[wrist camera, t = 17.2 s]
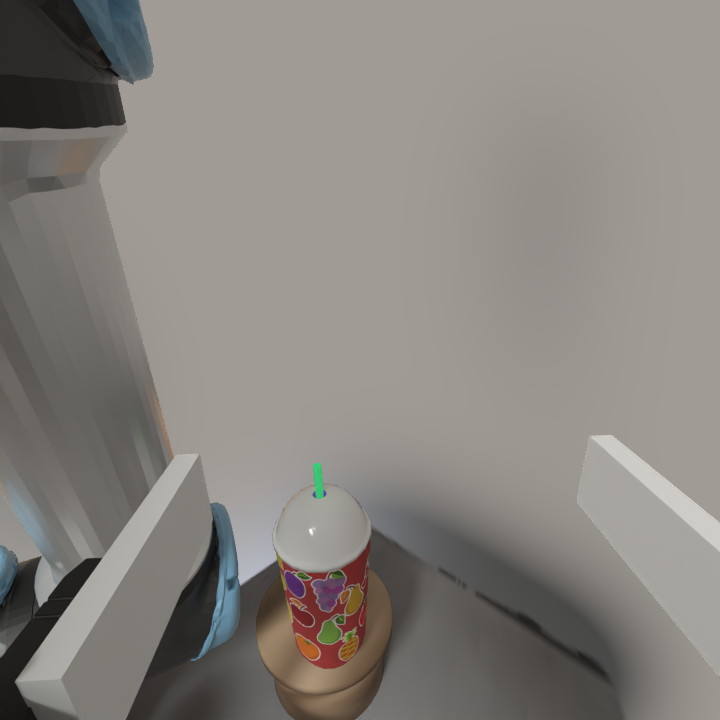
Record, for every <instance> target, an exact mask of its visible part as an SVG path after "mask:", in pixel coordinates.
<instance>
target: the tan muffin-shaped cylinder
mask: <svg viewBox="0 0 720 720" xmlns="http://www.w3.org/2000/svg"><path fill="white" fill-rule="evenodd" d="M391 631H392V605H391V601H390V597H389V594H388V591H387V589H386V587H385V585H384V584H383V582H382V581H381V579H380V578H379V577H378V576H377V575H376V574H375V573H374V572H373V571H372V570H371V569H370V568H369V571H368V591H367V610H366V629H365V636H364V639H363V643H362V645H361V646H360V648H359V649H358V651H357V652H356V654H355V655H354V656H353V657H352V659H350V660H349V661H348V662H347V663H345V664H344V665H342V666H340V667H337V668H334V669H323V668H320V667H317V666H315V665H314V664H312V663H310V662H309V661H308V660H307V659H306V658H304V657H303V656H302V655H301V653H300V651H299V649H298V648H297V646H296V641H295V636H294V632H293V627H292V623H291V618H290V614H289V609H288V605H287V600H286V596H285V591H284V587H283V582H282V578H281V576H280V577H279V578H278V579H277V580H276V581H275V582H274V583H273V585H272V586H271V587H270V588H269V590H268V591H267V593H266V595H265V597H264V598H263V600H262V603H261V605H260V608H259V611H258V615H257V622H256V637H257V643H258V648H259V653H260V656H261V659H262V661H263V663H264V665H265V667H266V669H267V670H268V671H269V673H270V674H271V675H272V676H273V677H274V681H275V686H276V691H277V694H278V697H279V700H280V702H281V704H282V706H283V707H284V708H285V710H286V711H287V713H288V714H289V715H290V716H291V717H292V718H294V719H295V720H354V719H356V718H357V717H358V716H360V715H361V714H362V713H363V712H364V711H365V710H366V709H367V707H368V706H369V705H370V704H371V702H372V701H373V699H374V697H375V695H376V693H377V691H378V689H379V686H380V683H381V679H382V673H383V656H384V653H385V651H386V649H387V647H388V644H389V641H390V637H391Z"/></svg>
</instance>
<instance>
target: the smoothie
mask: <svg viewBox="0 0 720 720" xmlns="http://www.w3.org/2000/svg"><path fill="white" fill-rule="evenodd" d="M313 468H314V480H315V485H311V486H309V487H306V488H304V489H302V490H301V491H299V492H298V493H297V494H295V495H294V496H293V497H292V498H291V499H290V501H289V502H288V503H287V505H286V506H285V507H284V509H283V511H282V513H281V516H280V517H279V518H278V520H277V521H276V523H275V526H274V529H273V533H272V539H273V546H274V549H275V551H276V555H277V560H278V564H279V569H280V573H281V578H282V582H283V587H284V591H285V596H286V600H287V605H288V609H289V614H290V618H291V623H292V627H293V632H294V636H295V641H296V646H297V648H298V649H299V651H300V653H301V655H302V656H303V657H304V658H306V659H307V660H308V661H309V662H310V663H312V664H314V665H315V666H317V667H320V668H323V669H334V668H337V667H340V666H342V665H344V664H345V663H347V662H348V661H349V660H350V659H352V657H353V656H354V655H355V654H356V652H357V651H358V649H359V648H360V646H361V645H362V643H363V639H364V636H365V629H366V610H367V591H368V571H369V552H370V537H371V521H370V518H369V516H368V514H367V512H366V511H365V510H364V509H363V508H362V507H361V505H360V504H359V502H358V501H357V500H356V499H355V498H354V497H353V496H352V495H351V494H350V493H349V492H348V491H346V490H345V489H343V488H341V487H339V486H336V485H332V484H323V482H322V469H321V464H320V463H316V464H314V465H313Z"/></svg>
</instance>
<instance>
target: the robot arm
mask: <svg viewBox="0 0 720 720" xmlns="http://www.w3.org/2000/svg"><path fill="white" fill-rule="evenodd" d="M153 67H154V66H153V58H152V52H151V47H150V43H149V40H148V34H147V29H146V26H145V23H144V19H143V15H142V11H141V7H140V3H139V0H0V493H1V494H2V496H3V497H4V499H5V500H6V502H7V503H8V505H9V506H10V507H11V509H12V510H13V512H14V513H15V515H16V516H17V518H18V519H19V521H20V522H21V524H22V525H23V527H24V528H25V530H26V531H27V533H28V534H29V536H30V537H31V538H32V540H33V541H34V543H35V544H36V546H37V547H38V549H39V550H40V552H41V553H42V556H40V557H37V558H34V559H30V560H27V561H24V562H20V563H18V559H17V557H16V554H14V553H13V552H12V551H9V550H8V549H7V548H6V547H4V546H1V545H0V720H126V718H127V716H128V713H129V711H130V709H131V707H132V704H133V702H134V700H135V697H136V695H137V693H138V691H139V688H140V686H141V684H142V682H143V681H145V680H147V679H149V678H152V677H154V676H156V675H158V674H160V673H163V672H165V671H167V670H169V669H171V668H174V667H176V666H178V665H180V664H182V663H185V662H187V661H189V660H190V661H195V660H197V659H200V658H201V656H204V654H206V652H207V651H209V650H211V649H213V648H215V647H217V646H219V645H221V644H223V643H225V642H226V641H228V640H229V639H230V638H231V637H232V636H233V635H234V633H235V631H236V630H237V627H238V624H239V620H240V612H241V594H240V584H239V580H238V561H237V553H236V547H235V541H234V535H233V531H232V526H231V522H230V518H229V515H228V513H227V510H226V508H225V507H224V506H223V505H222V504H219V503H212V504H210V502H209V497H208V492H207V487H206V482H205V477H204V472H203V467H202V463H201V458H200V454H181V455H176V456H175V457H174V456H173V453H172V449H171V445H170V441H169V438H168V434H167V430H166V427H165V423H164V419H163V415H162V412H161V408H160V404H159V400H158V397H157V393H156V389H155V386H154V382H153V378H152V374H151V371H150V367H149V363H148V359H147V356H146V352H145V348H144V345H143V341H142V337H141V333H140V330H139V326H138V322H137V318H136V315H135V311H134V307H133V303H132V300H131V296H130V292H129V289H128V285H127V281H126V277H125V274H124V270H123V266H122V262H121V259H120V255H119V251H118V248H117V244H116V240H115V237H114V233H113V229H112V225H111V222H110V218H109V214H108V211H107V207H106V203H105V199H104V195H103V192H102V188H101V184H100V180H99V177H100V167H101V165H102V163H103V162H104V161H105V160H106V158H107V157H108V156H109V154H110V153H111V152H112V151H113V149H114V148H115V147H116V145H117V144H118V143H119V142H120V140H121V139H122V138H123V137H124V135H125V134H126V133H127V126H126V120H125V115H124V111H123V106H122V102H121V97H120V92H119V88H118V80H121V79H123V80H125V81H127V82H129V83H131V84H133V83H134V81H137V80H142V79H147V78H149V77H150V76H151V74H152V73H153ZM576 502H577V503H578V505H579V506H580V507H581V508H582V510H583V511H584V512H585V513H586V515H587V516H588V517H589V518H590V519H591V521H592V522H593V523H594V524H595V525H596V527H597V528H598V529H599V530H600V532H601V533H602V534H603V535H604V537H605V538H606V539H607V540H608V542H609V543H610V544H611V545H612V546H613V548H614V549H615V550H616V551H617V553H618V554H619V555H620V556H621V557H622V559H623V560H624V561H625V562H626V564H627V565H628V566H629V567H630V569H631V570H632V571H633V572H634V573H635V574H636V576H637V577H638V578H639V579H640V581H641V582H642V583H643V584H644V586H645V587H646V588H647V589H648V591H649V592H650V593H651V594H652V595H653V597H654V598H655V599H656V600H657V602H658V603H659V604H660V605H661V606H662V608H663V609H664V610H665V611H666V613H667V614H668V615H669V616H670V618H671V619H672V620H673V621H674V622H675V624H676V625H677V626H678V627H679V628H680V630H681V631H682V632H683V633H684V635H685V636H686V637H687V638H688V639H689V641H690V642H691V643H692V645H693V646H694V647H695V648H696V649H697V651H698V652H699V653H700V654H701V656H702V657H703V658H704V659H705V660H706V662H707V663H708V664H709V665H710V667H711V668H712V669H713V670H714V672H715V673H716V674H717V675H718V676H719V678H720V523H719V522H718V521H717V520H715V519H714V518H713V517H712V516H711V515H709V514H708V513H707V512H706V511H704V510H703V509H702V508H701V507H700V506H698V505H697V504H696V503H695V502H694V501H692V500H691V499H690V498H689V497H687V496H686V495H685V494H683V493H682V492H681V491H680V490H679V489H677V488H676V487H675V486H674V485H672V484H671V483H670V482H669V481H668V480H666V479H665V478H664V477H663V476H662V475H660V474H659V473H658V472H657V471H655V470H654V469H653V468H651V467H650V466H649V465H648V464H647V463H646V462H644V461H643V460H642V459H640V458H639V457H638V456H637V455H635V454H634V453H633V452H632V451H631V450H629V449H628V448H627V447H626V446H625V445H623V444H622V443H621V442H620V441H618V440H617V439H616V438H615V437H614V436H612V435H600V436H589V441H588V445H587V450H586V456H585V460H584V465H583V470H582V475H581V480H580V484H579V489H578V494H577V499H576Z"/></svg>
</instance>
